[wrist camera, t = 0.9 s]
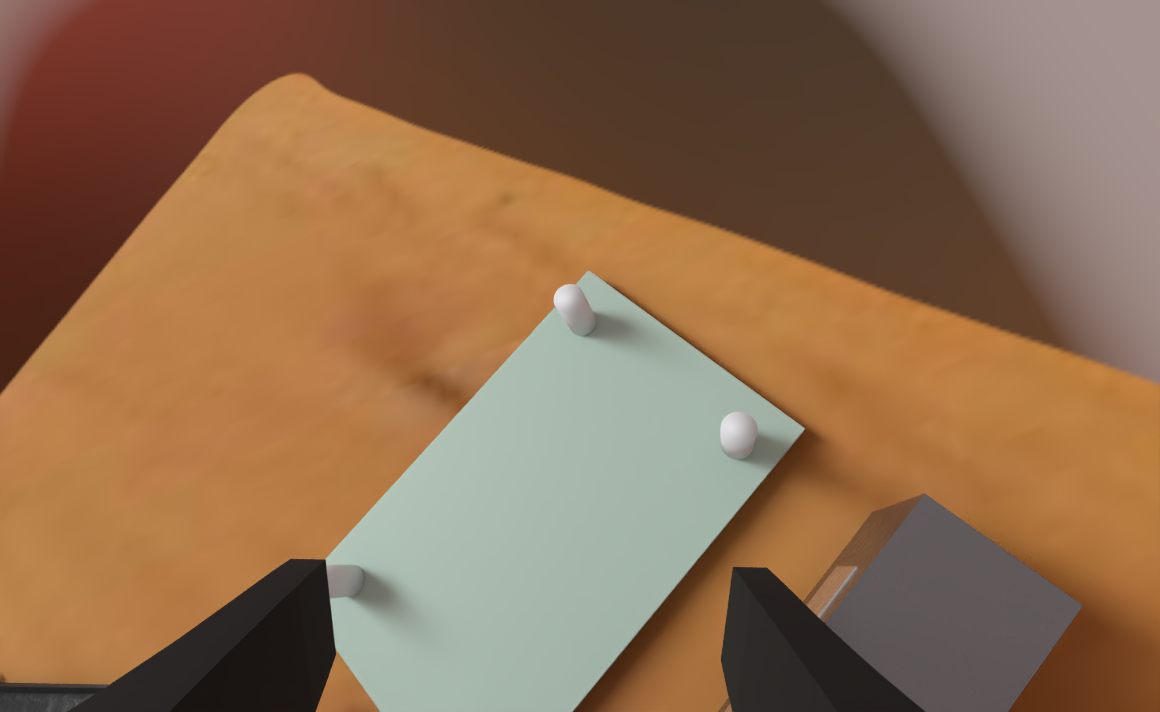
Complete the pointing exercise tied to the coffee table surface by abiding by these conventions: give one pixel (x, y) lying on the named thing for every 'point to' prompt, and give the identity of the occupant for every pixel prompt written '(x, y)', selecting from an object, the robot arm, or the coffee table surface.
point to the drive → (940, 609)
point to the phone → (44, 696)
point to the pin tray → (550, 515)
